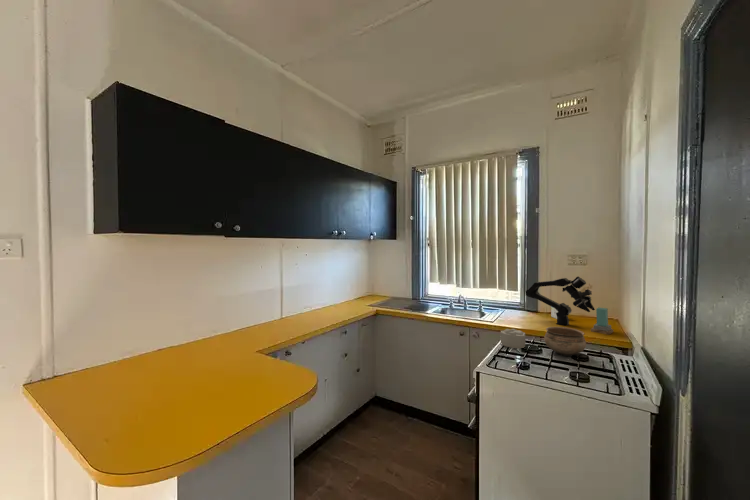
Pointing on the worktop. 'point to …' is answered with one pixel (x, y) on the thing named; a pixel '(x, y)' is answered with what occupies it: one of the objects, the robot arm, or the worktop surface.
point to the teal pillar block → (602, 316)
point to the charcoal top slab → (602, 327)
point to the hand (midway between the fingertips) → (592, 310)
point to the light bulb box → (553, 312)
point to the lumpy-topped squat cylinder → (513, 338)
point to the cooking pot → (565, 340)
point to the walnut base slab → (601, 331)
